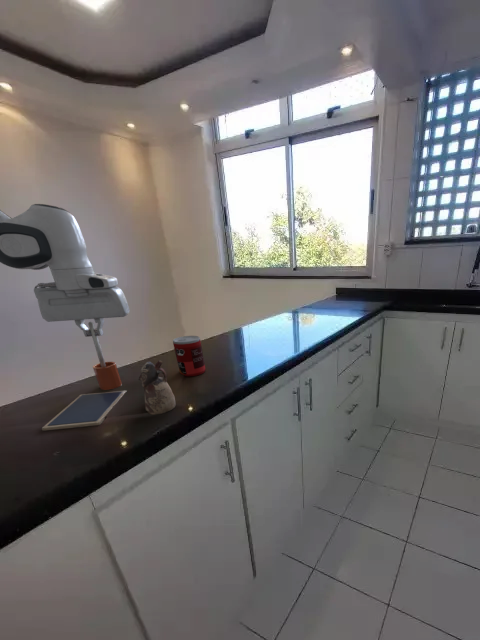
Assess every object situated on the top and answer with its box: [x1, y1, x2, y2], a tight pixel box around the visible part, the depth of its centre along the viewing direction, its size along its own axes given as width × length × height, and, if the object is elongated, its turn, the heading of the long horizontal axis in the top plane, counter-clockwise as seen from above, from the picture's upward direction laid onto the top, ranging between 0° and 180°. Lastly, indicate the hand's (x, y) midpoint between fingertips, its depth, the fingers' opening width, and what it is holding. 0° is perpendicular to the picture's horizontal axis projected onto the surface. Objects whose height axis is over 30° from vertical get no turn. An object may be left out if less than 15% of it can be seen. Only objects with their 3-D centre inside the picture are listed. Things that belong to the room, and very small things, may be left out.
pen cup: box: [92, 361, 123, 391], centre depth 89 cm, size 6×6×7 cm
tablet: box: [41, 390, 127, 431], centre depth 77 cm, size 12×18×1 cm, turn 8°
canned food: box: [172, 335, 206, 378], centre depth 97 cm, size 8×8×11 cm
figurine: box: [138, 359, 177, 416], centre depth 74 cm, size 7×7×12 cm
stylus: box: [87, 321, 106, 368], centre depth 84 cm, size 1×1×13 cm
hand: (94, 335), depth 83 cm, fingers closed on stylus, 1 cm apart
